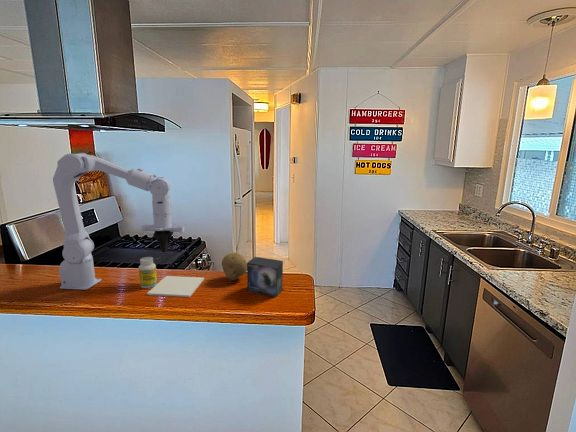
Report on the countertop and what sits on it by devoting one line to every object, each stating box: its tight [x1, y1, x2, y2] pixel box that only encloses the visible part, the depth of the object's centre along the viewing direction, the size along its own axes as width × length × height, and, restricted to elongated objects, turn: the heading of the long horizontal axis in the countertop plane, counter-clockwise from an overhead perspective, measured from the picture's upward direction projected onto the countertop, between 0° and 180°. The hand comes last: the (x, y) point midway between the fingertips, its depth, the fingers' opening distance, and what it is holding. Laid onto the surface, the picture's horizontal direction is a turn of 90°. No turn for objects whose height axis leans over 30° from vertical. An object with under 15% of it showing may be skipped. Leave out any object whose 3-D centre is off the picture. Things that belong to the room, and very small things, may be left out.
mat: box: [146, 275, 205, 298], centre depth 109 cm, size 14×14×1 cm
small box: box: [246, 256, 284, 298], centre depth 106 cm, size 11×6×10 cm, turn 70°
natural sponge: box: [221, 252, 248, 281], centre depth 114 cm, size 9×9×10 cm
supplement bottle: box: [138, 256, 158, 289], centre depth 109 cm, size 5×5×10 cm
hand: (164, 251), depth 113 cm, fingers closed
